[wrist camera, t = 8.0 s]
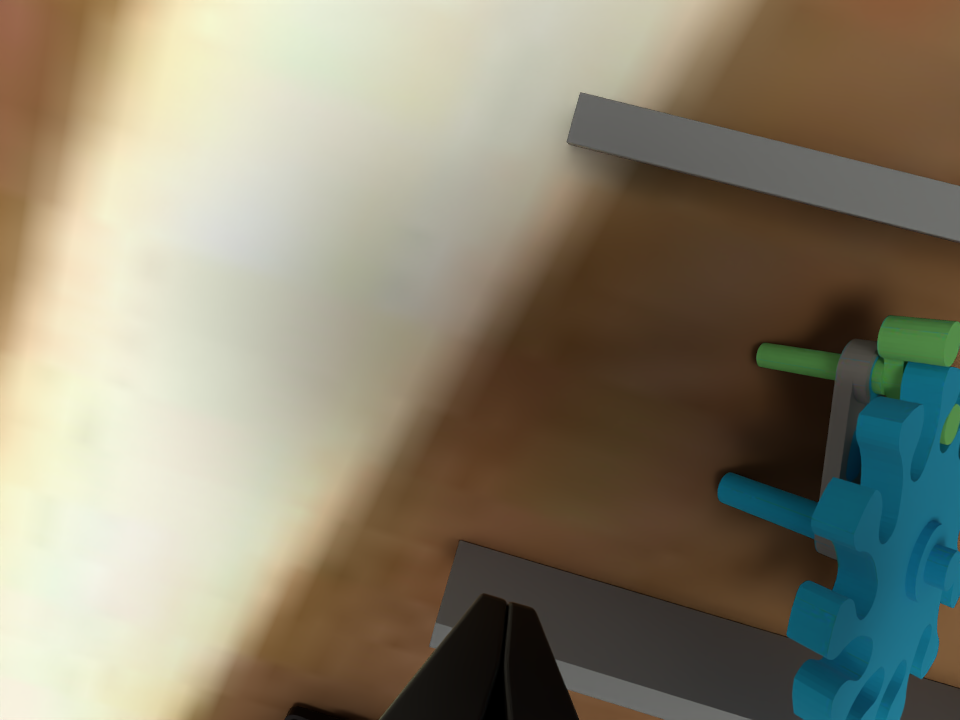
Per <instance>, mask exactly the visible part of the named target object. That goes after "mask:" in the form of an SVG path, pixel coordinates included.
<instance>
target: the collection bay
mask: <svg viewBox="0 0 960 720" xmlns="http://www.w3.org/2000/svg"><path fill="white" fill-rule="evenodd" d="M567 143H568V144H570V145H574V146H578V147H582V148H586V149H590V150H594V151H598V152H602V153H606V154H610V155H614V156H617V157H621V158H625V159H629V160H633V161H637V162H641V163H645V164H649V165H653V166H657V167H661V168H665V169H669V170H673V171H677V172H681V173H685V174H689V175H693V176H697V177H700V178H704V179H708V180H712V181H716V182H720V183H724V184H728V185H732V186H736V187H740V188H744V189H748V190H752V191H756V192H760V193H764V194H768V195H772V196H776V197H780V198H783V199H787V200H791V201H795V202H799V203H803V204H807V205H811V206H815V207H819V208H823V209H827V210H831V211H835V212H839V213H843V214H847V215H851V216H855V217H859V218H863V219H866V220H870V221H874V222H878V223H882V224H886V225H890V226H894V227H898V228H902V229H906V230H910V231H914V232H918V233H922V234H926V235H930V236H934V237H938V238H942V239H946V240H949V241H953V242H957V243H960V186H958V185H953V184H949V183H945V182H941V181H937V180H933V179H929V178H925V177H921V176H917V175H913V174H909V173H905V172H901V171H897V170H893V169H889V168H885V167H881V166H877V165H873V164H869V163H865V162H860V161H856V160H852V159H848V158H844V157H840V156H836V155H832V154H828V153H824V152H820V151H816V150H812V149H808V148H804V147H800V146H796V145H792V144H788V143H784V142H780V141H776V140H772V139H767V138H763V137H759V136H755V135H751V134H747V133H743V132H739V131H735V130H731V129H727V128H723V127H719V126H715V125H711V124H707V123H703V122H699V121H695V120H691V119H687V118H683V117H679V116H674V115H670V114H666V113H662V112H658V111H654V110H650V109H646V108H642V107H638V106H634V105H630V104H626V103H622V102H618V101H614V100H610V99H606V98H602V97H598V96H594V95H590V94H586V93H581V92H580V95H579V98H578V102H577V106H576V109H575V113H574V117H573V120H572V124H571V128H570V131H569V135H568V139H567ZM482 593H486V594H489V595H493V596H496V597H499V598H503V599H505V600H506V602H507V604H508V603H509V602H516V603H519V604H522V605H526V606H529V607H532V608H533V609H534V610H535V611H536V613H537V615H538V617H539V620H540V622H541V625H542V627H543V630H544V633H545V635H546V638H547V640H548V643H549V645H550V648H551V650H552V653H553V655H554V658H555V660H556V663H557V665H558V668H559V670H560V673H561V675H562V678H563V680H564V683H565V685H566V688H567V689H568V690H571V691H574V692H578V693H581V694H584V695H587V696H591V697H594V698H597V699H600V700H603V701H607V702H610V703H613V704H616V705H620V706H623V707H626V708H629V709H633V710H636V711H639V712H642V713H645V714H649V715H652V716H655V717H658V718H662V719H665V720H803V719H802V718H800V717H799V716H797V715H796V714H794V710H793V701H792V690H793V682H794V677H795V675H796V673H797V671H798V670H799V668H800V667H801V666H802V664H803V663H804V662H805V661H807V660H809V659H815V660H820V659H822V658H823V656H822V655H820V654H818V653H816V652H814V651H812V650H810V649H809V648H807V647H805V646H803V645H801V644H799V643H798V642H796V641H794V640H792V639H790V638H787V637H783V636H780V635H777V634H773V633H770V632H767V631H763V630H760V629H757V628H753V627H750V626H746V625H743V624H740V623H736V622H733V621H730V620H726V619H723V618H720V617H716V616H713V615H709V614H706V613H703V612H699V611H696V610H693V609H689V608H686V607H683V606H679V605H676V604H673V603H669V602H666V601H662V600H659V599H656V598H652V597H649V596H646V595H642V594H639V593H636V592H632V591H629V590H625V589H622V588H619V587H615V586H612V585H609V584H605V583H602V582H599V581H595V580H592V579H588V578H585V577H582V576H578V575H575V574H572V573H568V572H565V571H562V570H558V569H555V568H552V567H548V566H545V565H541V564H538V563H535V562H531V561H528V560H525V559H521V558H518V557H515V556H511V555H508V554H504V553H501V552H498V551H494V550H491V549H488V548H484V547H481V546H478V545H474V544H471V543H468V542H464V541H461V540H460V541H459V545H458V548H457V551H456V555H455V558H454V562H453V565H452V568H451V572H450V575H449V579H448V582H447V586H446V589H445V592H444V596H443V599H442V603H441V606H440V610H439V613H438V616H437V620H436V623H435V627H434V631H433V634H432V638H431V642H430V645H429V647H432V648H437V647H438V646H439V644H440V643H441V642H442V641H443V640H444V638H445V637H446V636H447V635H448V633H449V632H450V631H451V630H452V628H453V627H454V626H455V625H456V623H457V622H458V621H459V620H460V618H461V617H462V616H463V615H464V613H465V612H466V611H467V610H468V608H469V607H470V606H471V605H472V604H473V602H474V601H475V600H476V599H477V597H478V596H479V595H480V594H482ZM900 720H960V689H958V688H955V687H951V686H948V685H945V684H941V683H938V682H935V681H931V680H928V679H925V678H922V679H920V678H918V677H916V676H914V675H911V674H909V678H908V683H907V689H906V699H905V705H904V709H903V712H902V715H901V718H900Z"/></svg>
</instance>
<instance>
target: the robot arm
mask: <svg viewBox="0 0 960 720" xmlns="http://www.w3.org/2000/svg"><path fill="white" fill-rule="evenodd" d="M285 720H339V719H336V718H333V717H330V716H327V715H324V714H321V713H317V712H314V711H311V710H308V709H305V708H302V707H297V706H296V707H292V708H291V709H290V710H289V712H288V714H287V716H286V718H285ZM379 720H579V718H578V715H577V713H576V710H575V708H574V705H573V703H572V700H571V698H570V695H569V693H568V690H567V688H566V685H565V683H564V680H563V678H562V675H561V673H560V670H559V668H558V665H557V663H556V660H555V658H554V655H553V653H552V650H551V648H550V645H549V643H548V640H547V638H546V635H545V633H544V630H543V627H542V625H541V622H540V620H539V617H538V615H537V613H536V611H535V610H534V609H533V608H532V607H529V606H526V605H522V604H519V603H516V602H509V603H508V604H507V602H506V600H505V599H503V598H499V597H496V596H493V595H489V594H486V593H482V594H480V595H479V596H478V597H477V599H476V600H475V601H474V602H473V604H472V605H471V606H470V607H469V608H468V610H467V611H466V612H465V613H464V615H463V616H462V617H461V618H460V620H459V621H458V622H457V623H456V625H455V626H454V627H453V628H452V630H451V631H450V632H449V633H448V635H447V636H446V637H445V638H444V640H443V641H442V642H441V643H440V644H439V646H438V647H437V648H436V649H435V651H434V652H433V653H432V654H431V656H430V657H429V658H428V659H427V661H426V662H425V663H424V664H423V666H422V667H421V668H420V669H419V671H418V672H417V673H416V674H415V675H414V677H413V678H412V679H411V680H410V682H409V683H408V684H407V685H406V687H405V688H404V689H403V690H402V692H401V693H400V694H399V695H398V697H397V698H396V699H395V700H394V702H393V703H392V704H391V705H390V707H389V708H388V709H387V710H386V711H385V713H384V714H383V715H382V716H381V718H380V719H379Z"/></svg>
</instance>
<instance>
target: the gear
mask: <svg viewBox="0 0 960 720" xmlns="http://www.w3.org/2000/svg"><path fill="white" fill-rule="evenodd" d="M959 346H960V323H959V322H957V321H947V320H936V319H925V318H914V317H904V316H893V315H889V316H887V317H886V318H885V320H884V321H883V323H882V325H881V328H880V331H879V335H878V340H877V341H870V340H862V339H852V340H851V341H850V342H849V343H848V344H847V345H846V346H845V348H844V350H843V351H842V354H839V353H832V352H825V351H819V350H812V349H805V348H798V347H792V346H785V345H778V344H771V343H762V344H761V345H760V347H759V349H758V351H757V356H756V361H757V364H758V366H759V367H764V368H769V369H775V370H780V371H786V372H791V373H797V374H802V375H808V376H813V377H819V378H824V379H830V380H835V384H834V392H833V400H832V407H831V415H830V422H829V430H828V437H827V445H826V453H825V460H824V468H823V475H822V483H821V491H820V498H819V502H815V501H812V500H809V499H807V498H804V497H801V496H798V495H795V494H792V493H789V492H786V491H783V490H781V489H778V488H775V487H772V486H769V485H766V484H763V483H760V482H757V481H755V480H752V479H749V478H746V477H743V476H740V475H737V474H734V473H731V472H729V473H727V474H725V475H724V476H723V478H722V479H721V481H720V483H719V487H718V499H719V501H720V502H722V503H724V504H727V505H729V506H732V507H734V508H737V509H739V510H742V511H744V512H747V513H749V514H752V515H754V516H757V517H759V518H762V519H765V520H767V521H770V522H772V523H775V524H777V525H780V526H782V527H785V528H787V529H790V530H792V531H795V532H797V533H800V534H802V535H805V536H807V537H810V538H812V539H814V543H815V548H816V551H817V552H818V553H821V554H823V555H826V556H828V557H830V558H833V559H835V560H837V562H838V574H837V578H836V582H835V584H834V587H833V589H832V590H830V589H828V588H825V587H823V586H821V585H819V584H817V583H814V582H812V581H809V580H808V581H805V582H804V583H802V584H801V585H800V586H799V589H798V591H797V594H796V597H795V600H794V603H793V606H792V610H791V615H790V619H789V624H788V629H787V634H786V635H787V636H788V638H790V639H792V640H794V641H796V642H798V643H799V644H801V645H803V646H805V647H807V648H809V649H810V650H812V651H814V652H816V653H818V654H820V655H822V656H823V658H822V659H820V660H815V659H809V660H807V661H805V662H804V663H803V664H802V666H801V667H800V668H799V670H798V671H797V673H796V675H795V677H794V682H793V690H792V701H793V710H794V714H796V715H797V716H799V717H800V718H802V719H803V720H900V718H901V715H902V712H903V709H904V705H905V699H906V689H907V683H908V678H909V674H912V675H914V676H916V677H918V678H920V679H922V678H923V677H924V676H925V675H926V673H927V672H928V670H929V669H930V667H931V665H932V664H933V662H934V660H935V658H936V656H937V652H938V647H939V638H938V634H937V618H938V611H939V605H940V603H942V604H944V605H946V606H949V607H951V608H954V607H955V605H956V603H957V601H958V598H959V596H960V552H959V551H958V550H957V541H958V535H959V531H960V369H958V368H955V367H949V366H951V365H952V364H953V362H954V360H955V358H956V356H957V353H958V350H959ZM884 395H886V397H884Z"/></svg>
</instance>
